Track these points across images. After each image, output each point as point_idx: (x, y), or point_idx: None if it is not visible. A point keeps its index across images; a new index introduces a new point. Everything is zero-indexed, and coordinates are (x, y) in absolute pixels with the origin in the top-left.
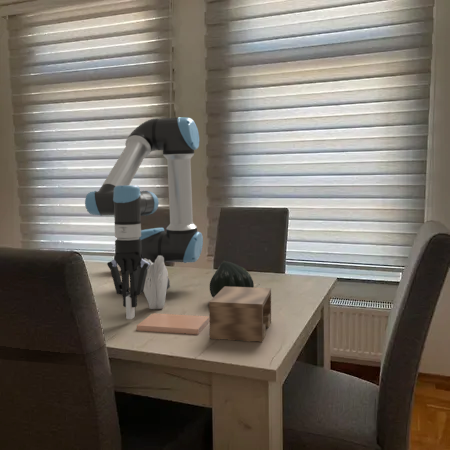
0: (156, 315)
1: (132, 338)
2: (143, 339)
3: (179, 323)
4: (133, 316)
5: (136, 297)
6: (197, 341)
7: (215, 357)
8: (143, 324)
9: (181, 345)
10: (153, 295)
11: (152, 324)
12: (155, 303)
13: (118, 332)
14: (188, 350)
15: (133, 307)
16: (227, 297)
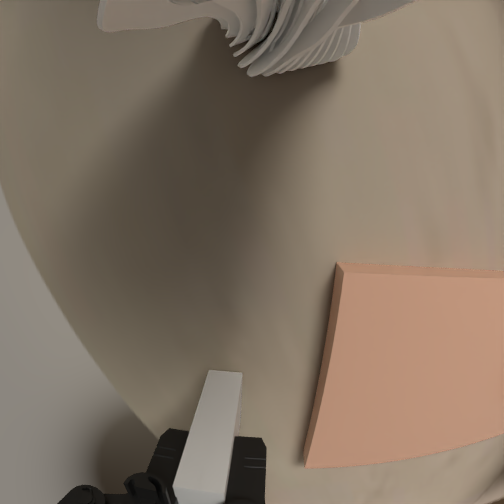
0: (381, 320)
1: (311, 500)
2: (351, 498)
3: (487, 403)
4: (241, 392)
5: (264, 502)
6: (497, 456)
7: (498, 492)
8: (335, 456)
9: (455, 488)
10: (295, 40)
11: (378, 448)
12: (300, 57)
13: None
14: (463, 497)
15: (235, 431)
16: None
